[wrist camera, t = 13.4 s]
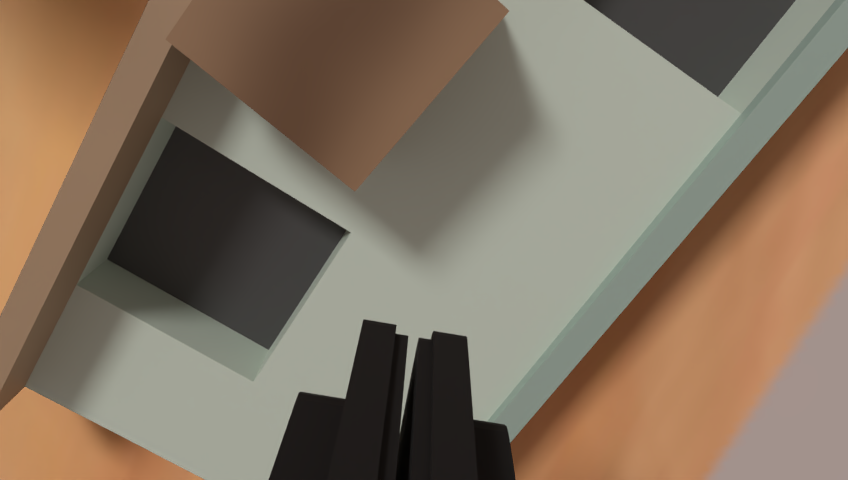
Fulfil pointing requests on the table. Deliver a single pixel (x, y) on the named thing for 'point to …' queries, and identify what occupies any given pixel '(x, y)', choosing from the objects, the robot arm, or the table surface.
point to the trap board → (391, 220)
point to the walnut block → (336, 66)
